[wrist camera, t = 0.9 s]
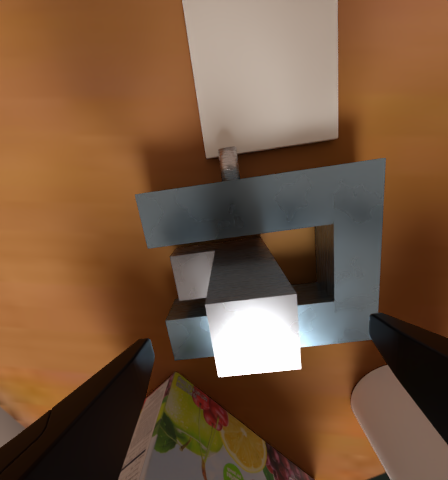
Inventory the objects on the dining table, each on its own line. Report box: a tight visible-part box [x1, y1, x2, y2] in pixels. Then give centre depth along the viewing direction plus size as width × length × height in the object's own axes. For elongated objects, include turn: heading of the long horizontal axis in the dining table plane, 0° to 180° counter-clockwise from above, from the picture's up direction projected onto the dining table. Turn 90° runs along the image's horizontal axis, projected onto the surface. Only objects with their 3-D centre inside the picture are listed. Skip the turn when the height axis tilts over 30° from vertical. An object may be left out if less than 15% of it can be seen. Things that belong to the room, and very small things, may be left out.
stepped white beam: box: [170, 237, 301, 377], centre depth 13 cm, size 7×4×9 cm, turn 98°
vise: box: [135, 146, 386, 360], centre depth 15 cm, size 15×14×3 cm
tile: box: [182, 0, 338, 159], centre depth 14 cm, size 9×9×1 cm
